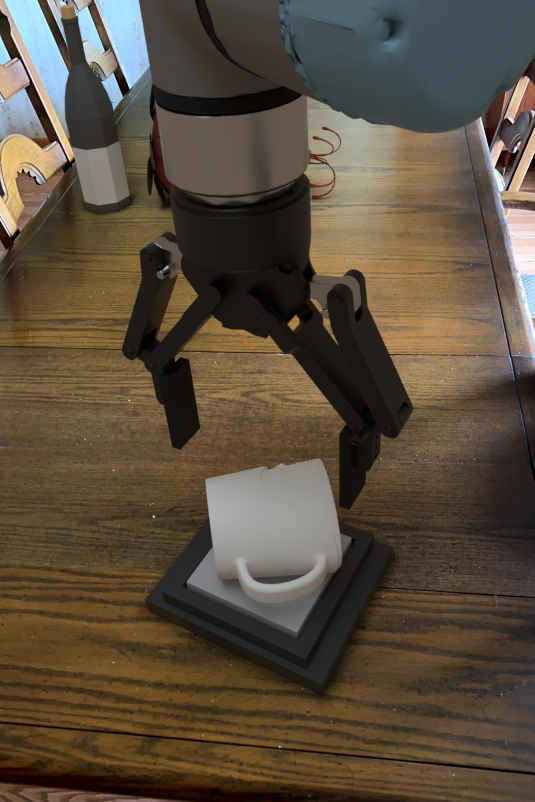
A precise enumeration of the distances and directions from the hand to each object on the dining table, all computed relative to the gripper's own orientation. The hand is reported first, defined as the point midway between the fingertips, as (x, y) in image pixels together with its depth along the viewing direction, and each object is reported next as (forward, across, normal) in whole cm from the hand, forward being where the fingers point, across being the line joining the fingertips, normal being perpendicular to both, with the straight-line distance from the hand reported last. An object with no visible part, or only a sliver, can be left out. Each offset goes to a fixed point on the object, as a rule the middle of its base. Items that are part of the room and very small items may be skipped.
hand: (265, 465), depth 51 cm
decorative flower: (+14, +42, -68) cm, 82 cm away
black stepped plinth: (+14, 0, 0) cm, 15 cm away
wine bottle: (+13, +62, -55) cm, 85 cm away
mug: (+11, 0, 0) cm, 11 cm away
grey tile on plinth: (+13, 0, 0) cm, 13 cm away
